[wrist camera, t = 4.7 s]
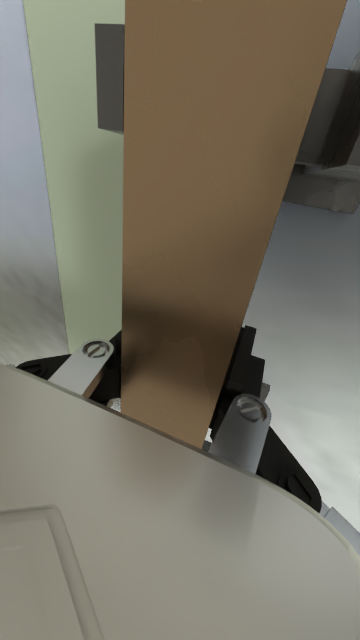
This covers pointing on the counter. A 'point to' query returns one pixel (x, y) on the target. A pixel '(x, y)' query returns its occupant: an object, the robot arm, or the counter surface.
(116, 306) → the board
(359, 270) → the counter surface
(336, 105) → the bracket
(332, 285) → the counter surface
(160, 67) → the rail
